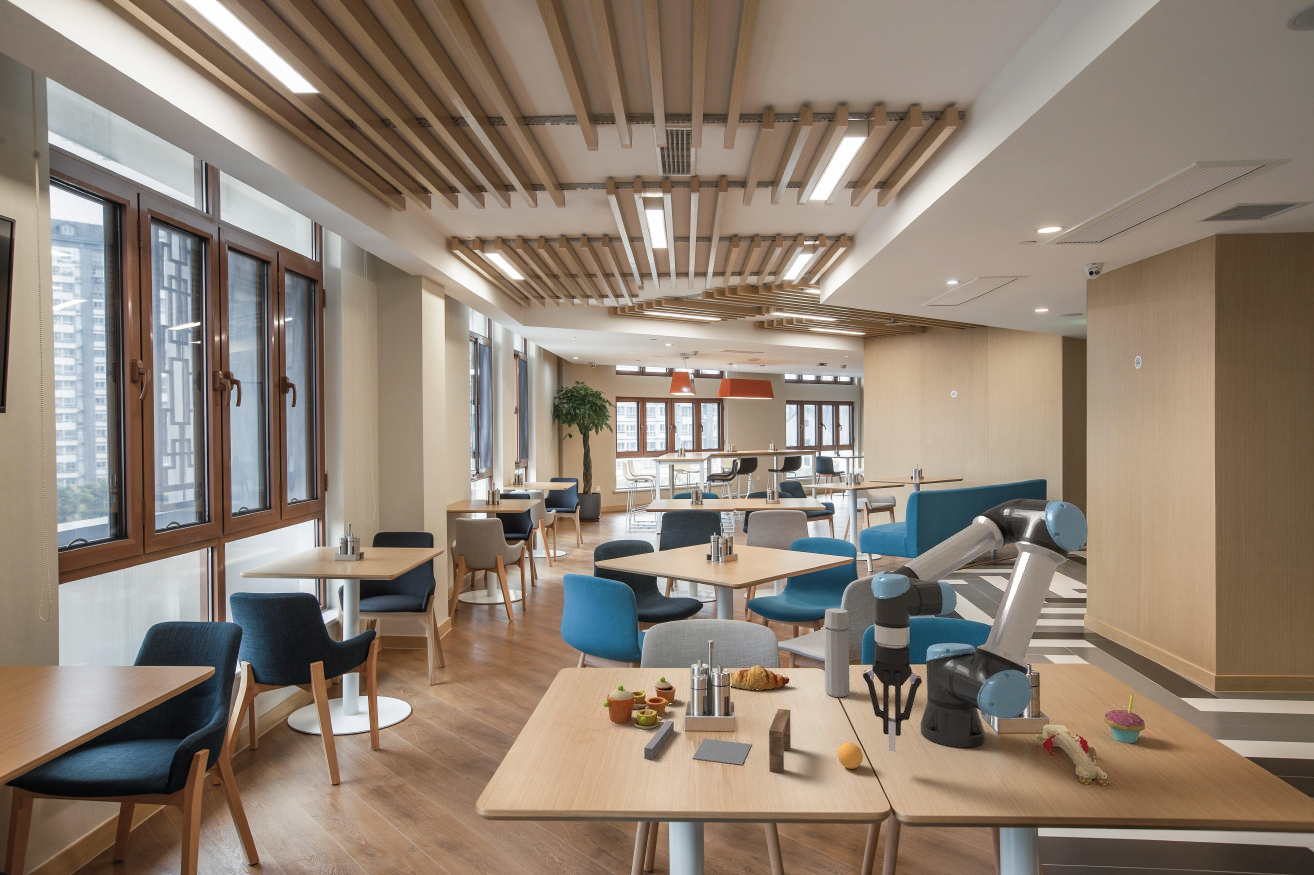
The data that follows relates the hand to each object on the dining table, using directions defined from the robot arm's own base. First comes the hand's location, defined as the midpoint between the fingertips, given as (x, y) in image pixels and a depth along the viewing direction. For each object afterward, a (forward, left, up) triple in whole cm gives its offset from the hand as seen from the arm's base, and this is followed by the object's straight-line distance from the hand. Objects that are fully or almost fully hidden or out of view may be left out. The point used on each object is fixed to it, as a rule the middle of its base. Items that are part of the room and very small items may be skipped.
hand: (891, 748), depth 159 cm
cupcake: (-56, -37, -6) cm, 67 cm away
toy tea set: (+66, -20, -6) cm, 69 cm away
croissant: (+40, -51, -6) cm, 65 cm away
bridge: (+25, 0, -5) cm, 26 cm away
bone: (-40, -19, -6) cm, 45 cm away
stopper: (+55, 0, -6) cm, 55 cm away
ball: (+9, 0, -3) cm, 10 cm away
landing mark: (+39, 0, -5) cm, 39 cm away
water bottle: (+15, -52, -6) cm, 54 cm away
